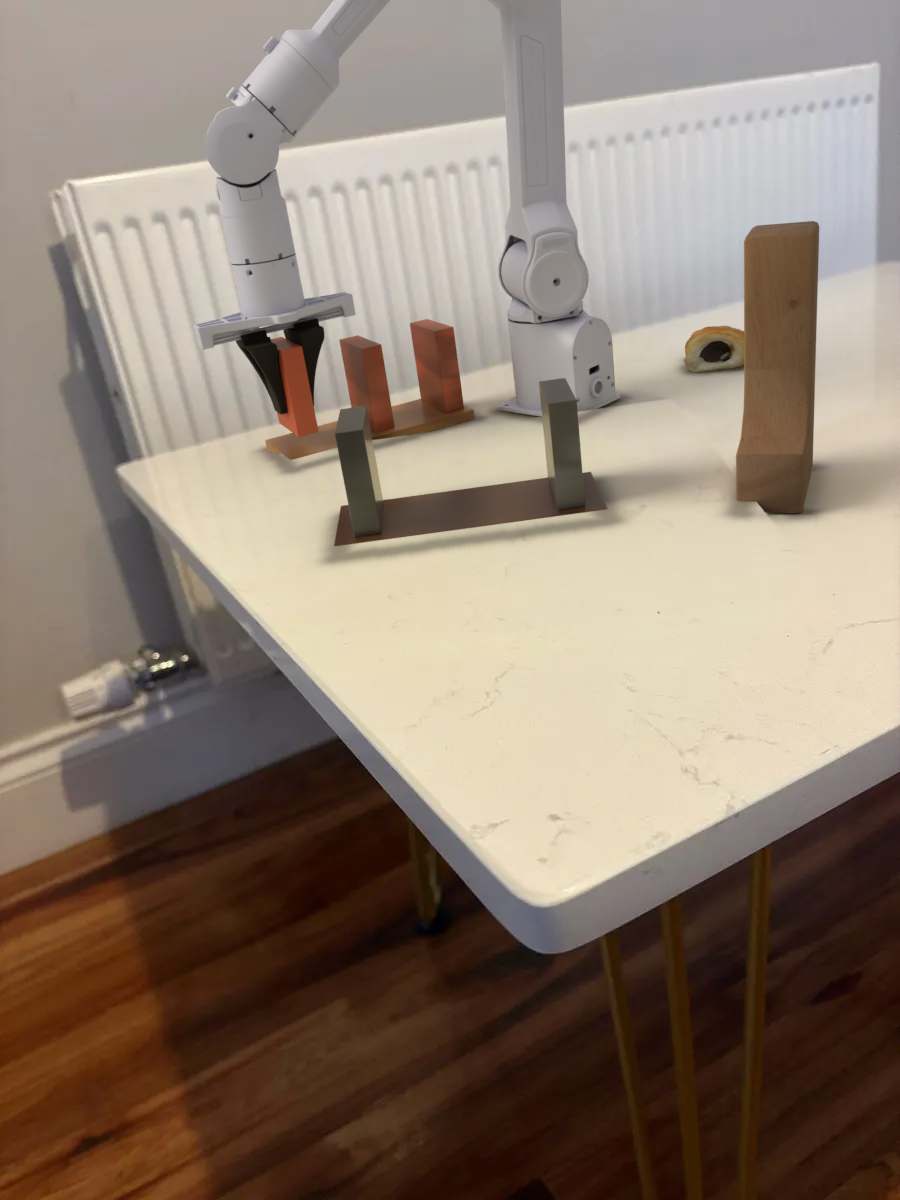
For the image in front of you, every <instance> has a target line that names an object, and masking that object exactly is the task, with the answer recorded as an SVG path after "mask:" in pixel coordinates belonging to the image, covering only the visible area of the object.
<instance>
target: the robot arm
mask: <svg viewBox="0 0 900 1200" xmlns="http://www.w3.org/2000/svg"><path fill="white" fill-rule="evenodd" d="M488 1H489V3H490V4H491V5H493V6H494V7H495V8H496V9H497V10H498V11H499V14H500V30H501V32H500V33H501V49H502V52H501V53H502V65H503V66H502V68H503V69H502V70H503V71H502V72H503V88H504V89H503V90H504V106H505V107H504V110H505V111H504V112H505V126H506V127H505V128H506V129H505V130H506V147H507V164H508V165H507V166H508V167H507V168H508V169H507V170H508V186H509V187H508V188H509V210H508V213H507V217H506V222H505V225H504V231H505V234H504V235H505V240H504V247H503V250H502V251H501V254H500V256H499V260H498V263H497V277H498V282H499V283H500V286H501V288H502V289H503V291H504V292H505V293H506V294H507V295H508V296H509V297H510V298H511V300H510V305H509V308H508V309H507V312H506V316H507V317H506V318H507V326H508V335H509V344H510V354H511V355H510V356H511V363H512V374H513V382H514V391H515V397H514V398H513V397H512V398H511V399H509V400H507V401H504V402H502V403H500V404H498V405H497V408H498V409H497V410H499V411H504V412H508V413H509V412H510V413H514V414H515V413H517V414H522V415H529V416H533V417H541V418H542V410H541V399H540V389H539V382H540V381H546V380H553V379H560V378H565V379H566V381H567V382H568V384H569V386H570V388H571V390H572V392H573V394H574V396H575V398H576V400H577V410H578V413H579V412H586V411H593V410H598V409H599V408H602V407H604V406H606V405H609V404H610V403H613V402H615V401H616V400H619V399H621V398H622V394H621V393H620V392H617V391H616V381H615V377H616V376H615V364H614V347H613V346H614V345H613V337H612V332H611V330H610V328H609V325H608V324H607V322H605V320H604V319H602V318H599V317H596V316H593V315H590V314H588V312H586V311H585V310H584V301H583V300H584V298H585V296H586V293H587V291H588V287H589V282H590V281H589V280H590V277H589V276H590V275H589V269H588V266H587V263H586V261H585V259H584V257H583V255H582V253H581V251H580V247H579V240H578V228H577V225H576V223H575V221H574V219H573V217H572V214H571V211H570V209H569V207H568V203H567V172H566V171H567V169H566V137H565V134H566V133H565V132H566V131H565V103H564V101H565V100H564V68H563V66H564V64H563V35H562V33H563V31H562V30H563V29H562V28H563V27H562V0H488ZM390 2H391V0H332V2H331V3H330V4H329V6H328V7H327V8H326V9H325V11H324V12H323V13H322V15H321V16H320V17H319V18H318V19H317V20H316V22H315V24H314V25H313V26H312V27H311V28H309V29H297V28H296V29H293V28H292V29H287V30H285V31H284V33H283V34H282V35H281V36H280V38H279V39H278V38H277V37H276V36H275V35H271V36H270V38H269V39H268V40H267V41H266V43H265V44H264V45H263V47H262V50H263V52H264V53H266V55H265V56H264V57H263V59H262V60H261V61H260V62H259V63H258V65H257V66H256V67H255V68H254V70H252V72H251V73H250V74H249V76H248V77H247V78H246V79H245V81H244V82H243V83H242V84H241V85H240V87H239V88H238V89H237V88H236V87H235V86H232V87H231V89H230V90H229V91H228V92H227V93H226V94H225V97H226V99H228V101H230V103H232V106H228V107H226V108H223V109H221V110H219V111H218V112H216V113H215V115H214V119H212V121H211V122H210V124H209V126H208V128H207V131H206V134H205V140H204V147H205V149H204V153H205V157H206V160H207V162H208V163H209V165H210V167H211V168H212V169H213V170H214V171H215V173H216V174H217V175H218V176H216V177H215V181H216V183H215V192H216V196H217V199H218V200H219V201H220V203H221V204H220V207H219V215H220V220H221V225H222V230H223V233H224V234H223V235H224V239H225V242H226V247H227V252H228V257H229V261H230V264H231V269H232V274H233V278H234V284H235V287H236V288H235V289H236V292H237V296H238V301H239V306H240V310H241V311H239V312H235V313H231V314H229V315H225V316H221V317H219V318H215V319H212V320H208V321H205V322H199V323H195V324H193V325H192V327H193V332H194V336H195V340H196V343H197V346H198V348H200V349H202V350H203V351H204V350H208V349H213V348H214V347H215V346H218V345H219V346H220V345H222V344H227V343H231V342H235V343H236V345H237V347H238V348H239V350H240V351H241V352H242V353H243V355H245V357H246V358H247V360H248V361H249V363H250V364H251V365H252V368H253V369H254V370H255V372H256V373H257V375H258V377H259V378H260V380H261V382H262V384H263V385H264V388H265V389H266V392H267V394H268V396H269V398H270V401H271V402H272V406H273V409H274V411H275V412H276V413H277V412H278V413H279V414H285V413H288V410H287V403H286V398H285V394H284V390H283V386H282V383H281V378H280V371H279V364H278V354H277V345H276V344H274V343H273V342H271V339H272V338H271V336H268V334H271V333H275V332H280V331H283V334H284V338H285V339H287V340H289V341H292V342H294V343H296V344H298V345H300V346H302V349H303V354H304V360H305V365H306V370H307V375H308V380H309V385H310V390H311V395H312V400H313V405H314V406H315V384H316V383H315V380H316V373H317V367H318V361H319V357H320V353H321V349H322V347H323V344H324V341H325V328H324V327H323V326H321V325H320V322H324V321H328V320H334V319H337V318H342V317H343V318H349V317H353V316H356V315H357V313H356V308H355V303H354V298H353V297H354V296H353V294H352V293H350V292H346V291H342V292H337V293H332V294H326V295H320V296H313V297H306V298H305V294H304V290H303V285H302V279H301V275H300V269H299V264H298V259H297V254H296V249H295V248H296V247H295V244H294V238H293V233H292V228H291V223H290V218H289V212H288V207H287V201H286V198H284V197H283V196H282V192H281V187H280V181H279V176H278V172H277V169H276V167H277V164H278V161H279V158H280V145H282V144H285V143H286V144H292V142H294V140H295V139H296V138H297V137H298V135H299V134H300V133H301V132H302V131H303V130H304V128H306V126H307V125H308V123H309V122H310V121H311V120H312V119H313V118H314V116H315V115H316V114H317V113H318V111H319V110H320V109H321V108H322V106H324V104H325V103H326V102H327V101H328V100H329V98H331V96H332V95H333V94H334V92H335V91H336V90H337V89H338V88H339V87H340V81H341V80H340V79H341V78H340V59H341V57H342V56H343V55H344V54H345V52H347V50H348V49H349V48H350V47H351V46H352V44H353V43H354V42H355V41H356V40H357V39H358V38H359V37H360V36H361V34H362V33H363V32H364V31H365V30H366V29H367V28H368V26H370V24H371V23H372V22H373V21H374V19H375V18H377V16H378V15H379V14H380V13H381V12H382V11H383V10H384V9H385V7H386V6H387V5H388V4H389V3H390Z"/></svg>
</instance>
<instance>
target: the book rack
mask: <svg viewBox="0 0 900 1200" xmlns="http://www.w3.org/2000/svg"><path fill="white" fill-rule="evenodd" d="M409 328H410V329H409V330H410V335H411V341H412V347H413V354H414V361H415V368H416V375H417V376H416V377H417V382H418V388H419V394H420V395H419V396H420V398H417V399H414V400H411V401H407V402H403V403H400V404H396V405H392V402H391V395H390V390H389V384H388V383H389V382H388V378H387V370H386V365H385V359H384V353H383V346H382V344H381V343H378V342H376V341H373V340H371V339H368V338H365V337H363V336H361V335H358V334H357V335H353V336H349V337H345V338H341V339H339V346H340V352H341V358H342V362H343V363H342V364H343V369H344V373H345V380H346V386H347V391H348V396H349V401H350V408H354V407H361V406H367V412H368V418H369V423H370V429H371V435H372V441H376V440H384V439H392V438H398V437H405V436H412V435H413V436H414V435H420V434H426V433H429V432H434V431H437V430H441V429H444V428H448V427H452V426H455V425H458V424H462V423H466V422H469V421H474V420H475V412H474V409H473V408H471V407H469V406H467V405H465V403H464V397H463V389H462V381H461V373H460V366H459V359H458V352H457V351H458V350H457V343H456V336H455V335H456V334H455V328H454V326H451V325H448V324H446V323H442V322H438V321H436V320H432V319H428V318H425V319H421V320H417V321H411V322H410V323H409ZM337 422H338V420H335V421H332V422H328V423H324V424H321V425H317V426H318V432H316V433H313V434H309V435H305V436H301V437H298V436H297V435H295V434H294V433H292V432H290V433H287V434H283V435H279V436H275V437H271V438H267V439H265V440H264V442H265V447H266V450H267V451H268V452H270V453H271V454H272V455H277V454H281V455H283V456H284V457H285V458H287V459H288V460H289V461H293V460H296V459H300V458H304V457H307V456H311V455H314V454H318V453H322V452H325V451H329V450H332V449H336V448H337V443H336V437H335V431H336V427H337ZM337 449H338V448H337Z"/></svg>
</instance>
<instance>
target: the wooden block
mask: <svg viewBox="0 0 900 1200" xmlns="http://www.w3.org/2000/svg"><path fill="white" fill-rule="evenodd" d="M819 251H820V224H819V223H818V222H817V221H815V220H811V221H809V220H808V221H797V222H784V223H773V224H761V225H760V224H759V225H755V226H753V227H752V228H751V229H750V230H749V232H748V234H747V235H746V236H745V237H744V241H743V328H744V329H743V331H744V365H743V371H744V373H743V377H744V378H743V380H744V381H743V386H744V387H743V409H742V411H743V412H742V423H741V432H740V439H739V443H738V446H737V450H736V455H735V498H736V501H737V502H742V503H756V504H757V505H758V506H759V507H760V508H761V510H762V511H763V512H764V513H779V514H780V513H781V514H782V513H784V514H798V513H802V511H803V510H804V506H805V502H806V498H807V494H808V489H809V484H810V479H811V475H812V471H813V470H812V469H813V464H814V436H815V435H814V433H815V400H816V399H815V398H816V396H815V395H816V394H815V393H816V362H817V361H816V360H817V359H816V358H817V328H818V327H817V325H818V287H819V257H820V255H819V254H820V253H819Z"/></svg>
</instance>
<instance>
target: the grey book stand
mask: <svg viewBox="0 0 900 1200" xmlns="http://www.w3.org/2000/svg"><path fill="white" fill-rule="evenodd" d="M539 389H540V399H541V410H542V417H541V419H542V420H541V421H542V429H543V431H542V432H543V440H544V451H545V452H544V453H545V462H546V472H547V477H542V478H536V479H534V478H533V479H527V480H519V481H511V482H505V483H498V484H497V483H496V484H492V485H484V486H483V485H482V486H475V487H469V488H462V489H454V490H448V491H447V490H446V491H440V492H432V493H425V494H418V495H411V496H404V497H396V498H395V497H394V498H388V499H383V493H382V492H383V491H382V486H381V482H380V475H379V470H378V464H377V458H376V453H375V447H374V440H372V435H371V429H370V423H369V418H368V412H367V406H361V407H354V408H352V407H347V408H341V409H340V410H339V414H338V419H337V421H338V422H337V427H336V431H335V437H336V443H337V452H338V459H339V464H340V468H341V473H342V474H341V475H342V478H343V484H344V490H345V495H346V500H347V504H345V505H341V506H340V508H339V515H338V521H337V525H336V526H337V527H336V531H335V536H334V537H335V538H334V543H333V547H341V546H348V545H355V544H363V543H371V542H377V541H386V540H392V539H399V538H400V539H401V538H407V537H415V536H422V535H428V534H430V535H431V534H436V533H443V532H450V531H458V530H466V529H475V528H481V527H487V526H495V525H504V524H511V523H517V522H525V521H532V520H533V521H534V520H540V519H547V518H553V517H562V516H563V517H564V516H571V515H576V514H584V513H591V512H592V513H593V512H598V511H607V510H608V507H607V504H606V502H605V500H604V498H603V496H602V493H601V491H600V489H599V487H598V485H597V482H596V480H595V478H594V476H593V474H592V472H591V471H586V472H585V471H584V472H583V463H582V449H581V440H580V439H581V437H580V425H579V412H578V410H577V400H576V398H575V396H574V394H573V392H572V390H571V388H570V386H569V384H568V382H567V381H566V379H565V378H560V379H553V380H546V381H540V382H539Z"/></svg>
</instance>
